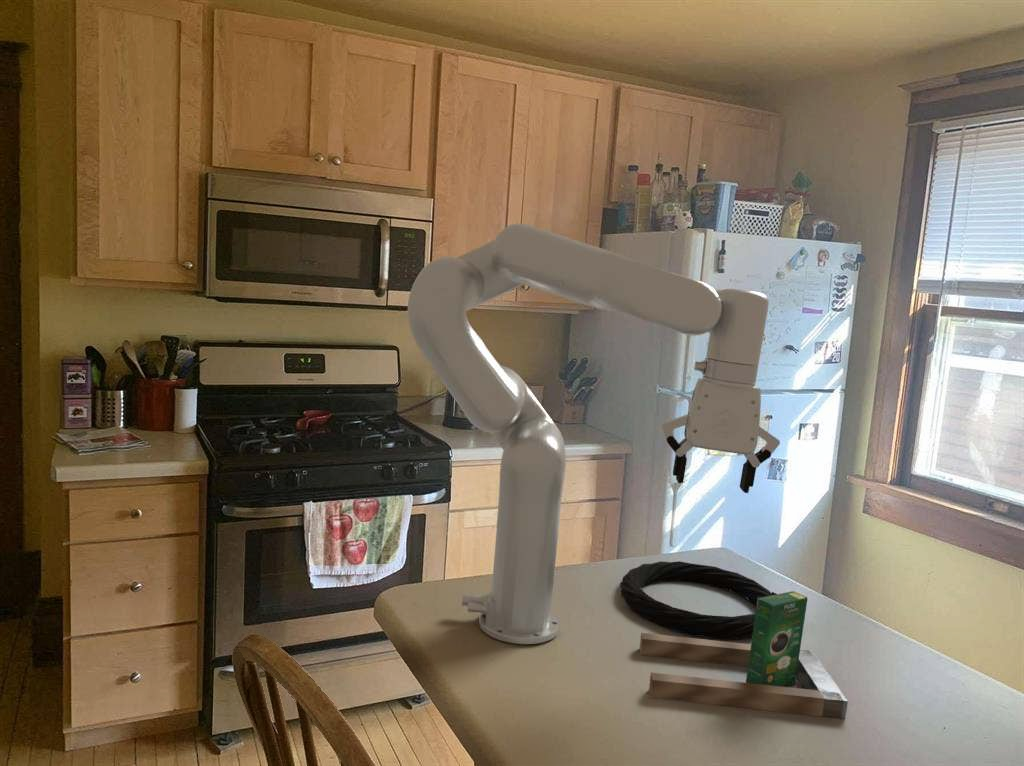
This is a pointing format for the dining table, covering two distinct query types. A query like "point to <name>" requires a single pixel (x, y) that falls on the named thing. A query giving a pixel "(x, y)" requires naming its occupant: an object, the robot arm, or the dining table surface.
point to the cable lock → (685, 619)
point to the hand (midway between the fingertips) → (711, 485)
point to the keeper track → (812, 700)
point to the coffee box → (777, 639)
